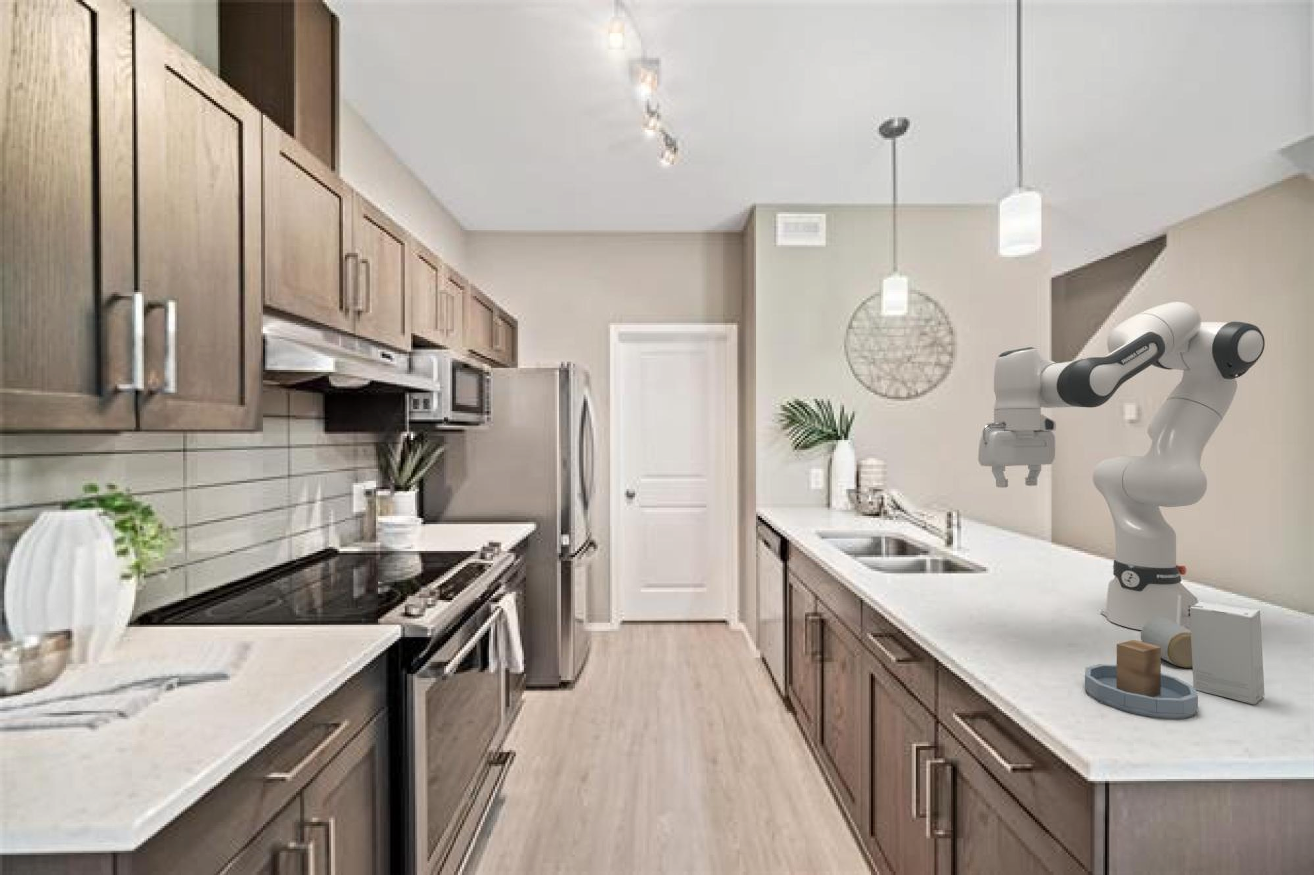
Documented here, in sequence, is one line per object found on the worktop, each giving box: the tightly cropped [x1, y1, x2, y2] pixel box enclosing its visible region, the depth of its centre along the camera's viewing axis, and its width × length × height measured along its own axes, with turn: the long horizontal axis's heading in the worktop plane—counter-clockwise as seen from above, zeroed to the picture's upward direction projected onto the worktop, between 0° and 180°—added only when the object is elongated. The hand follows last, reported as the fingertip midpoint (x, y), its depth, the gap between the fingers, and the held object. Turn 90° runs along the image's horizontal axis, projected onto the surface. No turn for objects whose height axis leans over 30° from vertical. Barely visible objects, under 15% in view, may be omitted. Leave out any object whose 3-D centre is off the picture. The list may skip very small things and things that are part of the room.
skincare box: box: [1190, 600, 1265, 705], centre depth 106 cm, size 8×6×15 cm
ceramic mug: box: [1140, 618, 1193, 669], centre depth 121 cm, size 11×8×8 cm
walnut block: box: [1116, 639, 1162, 697], centre depth 104 cm, size 5×4×8 cm
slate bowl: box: [1084, 663, 1199, 720], centre depth 104 cm, size 15×15×3 cm
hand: (1016, 486), depth 134 cm, fingers open, 8 cm apart
